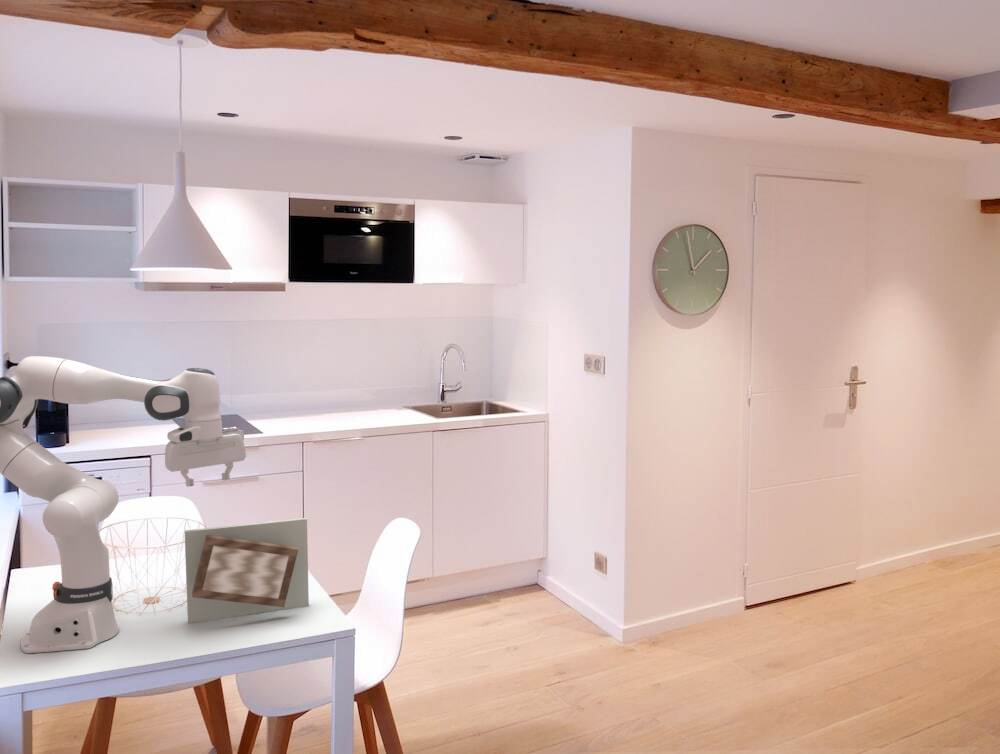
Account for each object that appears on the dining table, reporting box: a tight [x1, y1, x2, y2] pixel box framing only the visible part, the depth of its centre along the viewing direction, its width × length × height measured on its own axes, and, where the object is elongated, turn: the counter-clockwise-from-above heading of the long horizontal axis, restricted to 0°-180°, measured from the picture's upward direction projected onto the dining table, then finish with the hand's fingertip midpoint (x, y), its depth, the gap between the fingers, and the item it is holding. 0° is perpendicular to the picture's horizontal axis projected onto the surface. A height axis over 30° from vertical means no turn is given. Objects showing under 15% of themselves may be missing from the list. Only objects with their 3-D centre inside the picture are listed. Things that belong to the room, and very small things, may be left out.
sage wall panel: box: [184, 517, 310, 624], centre depth 235 cm, size 32×6×25 cm, turn 114°
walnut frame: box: [192, 535, 298, 607], centre depth 230 cm, size 24×2×16 cm, turn 115°
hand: (208, 482), depth 226 cm, fingers open, 8 cm apart
